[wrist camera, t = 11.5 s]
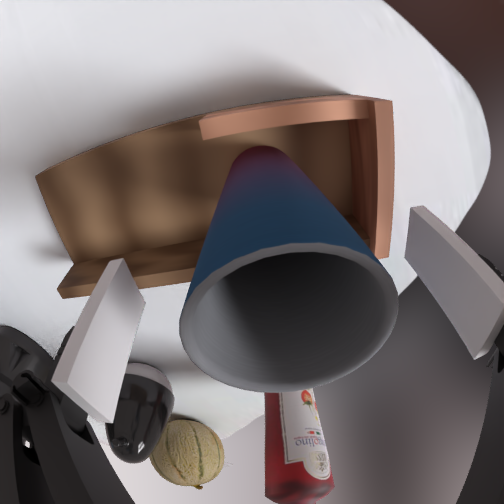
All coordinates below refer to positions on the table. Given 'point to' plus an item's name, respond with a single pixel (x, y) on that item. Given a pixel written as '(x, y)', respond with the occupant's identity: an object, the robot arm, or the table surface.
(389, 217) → the board
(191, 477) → the cantaloupe
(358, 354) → the cup
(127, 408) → the black egg-shaped device
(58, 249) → the table surface
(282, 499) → the liquor
